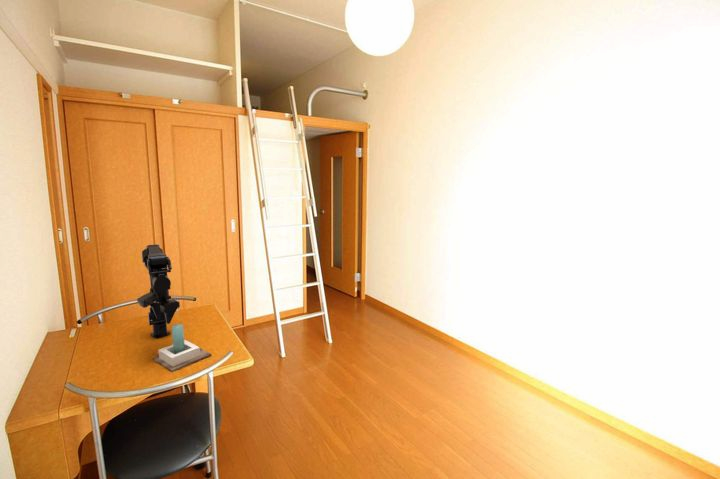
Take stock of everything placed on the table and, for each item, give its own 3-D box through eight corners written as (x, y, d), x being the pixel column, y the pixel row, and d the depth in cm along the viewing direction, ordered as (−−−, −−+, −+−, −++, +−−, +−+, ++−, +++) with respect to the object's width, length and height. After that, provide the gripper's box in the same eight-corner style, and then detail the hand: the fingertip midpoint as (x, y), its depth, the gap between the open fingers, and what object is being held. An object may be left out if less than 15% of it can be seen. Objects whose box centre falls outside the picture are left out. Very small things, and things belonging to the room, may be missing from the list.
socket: (159, 357, 141) (158, 349, 140) (186, 347, 150) (185, 340, 149) (172, 366, 134) (171, 358, 134) (200, 355, 143) (199, 347, 143)
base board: (152, 359, 141) (152, 357, 141) (191, 344, 154) (191, 343, 154) (172, 372, 132) (171, 370, 132) (211, 355, 145) (211, 353, 145)
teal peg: (171, 358, 141) (169, 327, 138) (179, 353, 144) (176, 323, 142) (180, 359, 140) (178, 328, 138) (187, 354, 144) (185, 324, 141)
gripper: (128, 285, 144) (132, 321, 146) (149, 294, 133) (153, 333, 135) (157, 279, 153) (160, 313, 155) (179, 287, 142) (181, 324, 144)
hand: (163, 321), depth 147 cm, fingers open, 9 cm apart
